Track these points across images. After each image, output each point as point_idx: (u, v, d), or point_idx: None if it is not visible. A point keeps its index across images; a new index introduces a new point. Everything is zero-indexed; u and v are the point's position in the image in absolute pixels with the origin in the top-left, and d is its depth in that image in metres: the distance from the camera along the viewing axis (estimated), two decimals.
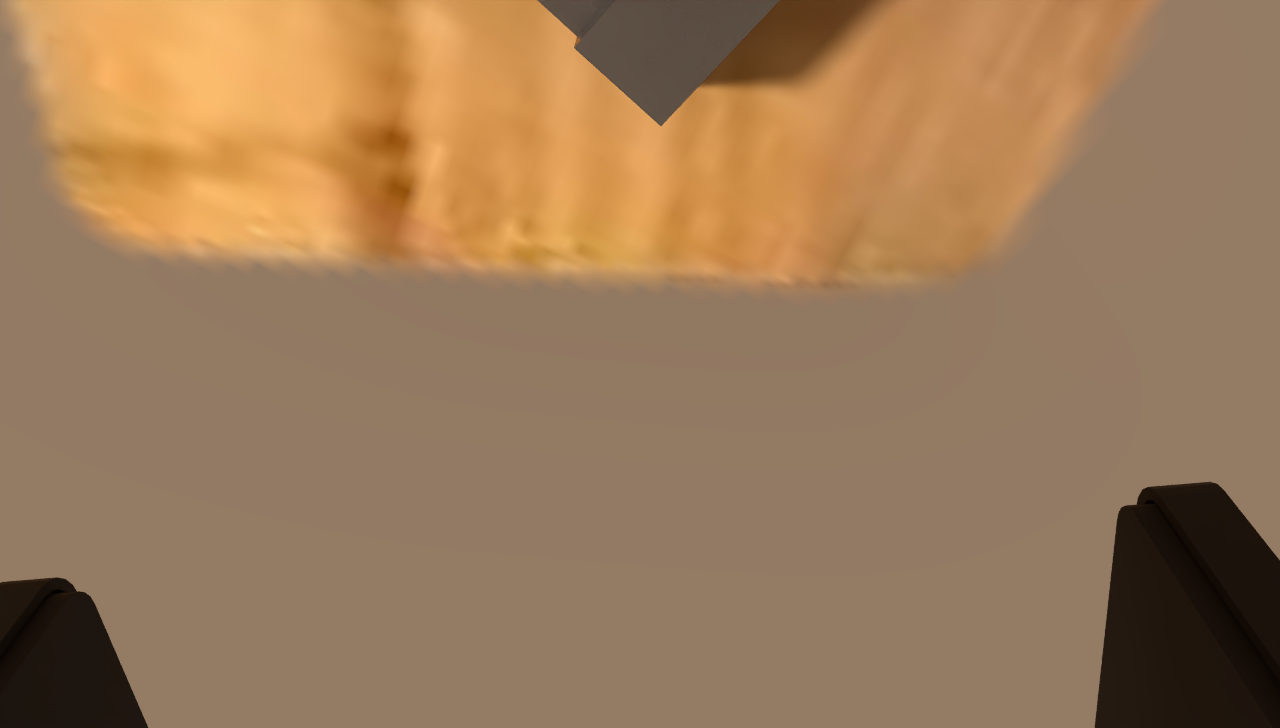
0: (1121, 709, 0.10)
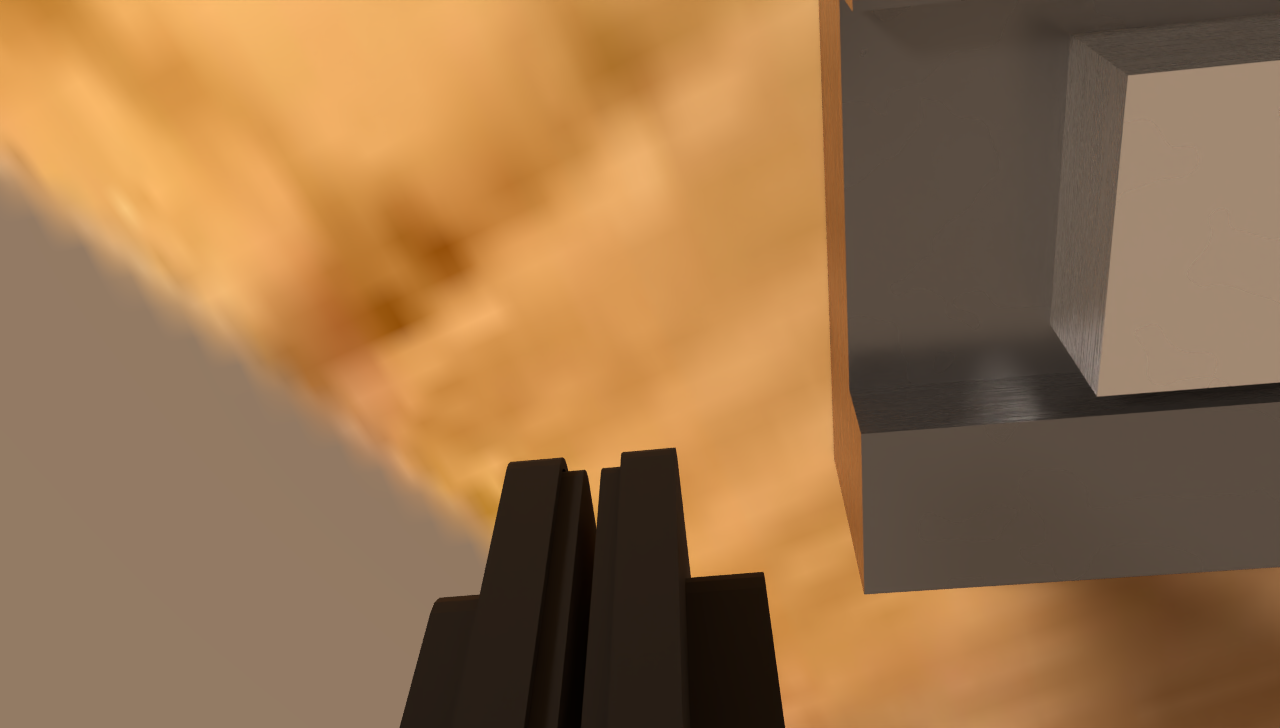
0: None
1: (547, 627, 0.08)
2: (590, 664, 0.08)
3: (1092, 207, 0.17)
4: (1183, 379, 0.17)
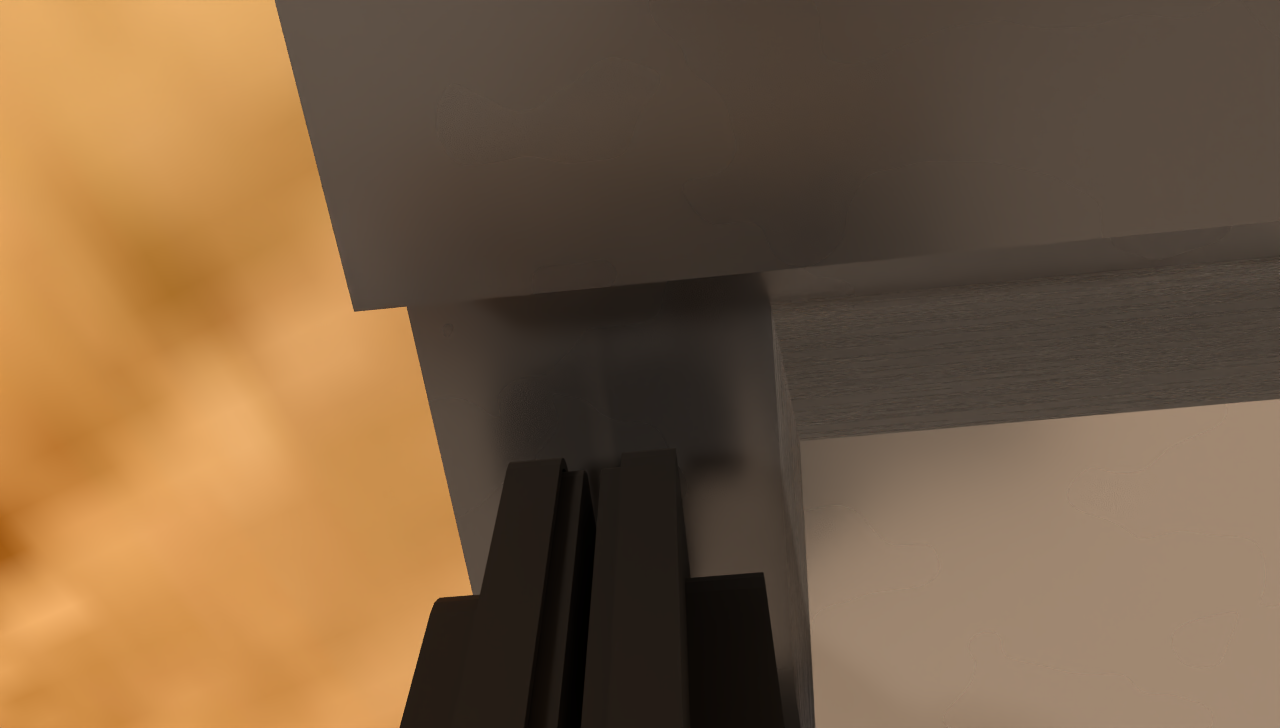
0: None
1: (547, 627, 0.08)
2: (590, 664, 0.08)
3: (799, 592, 0.10)
4: None
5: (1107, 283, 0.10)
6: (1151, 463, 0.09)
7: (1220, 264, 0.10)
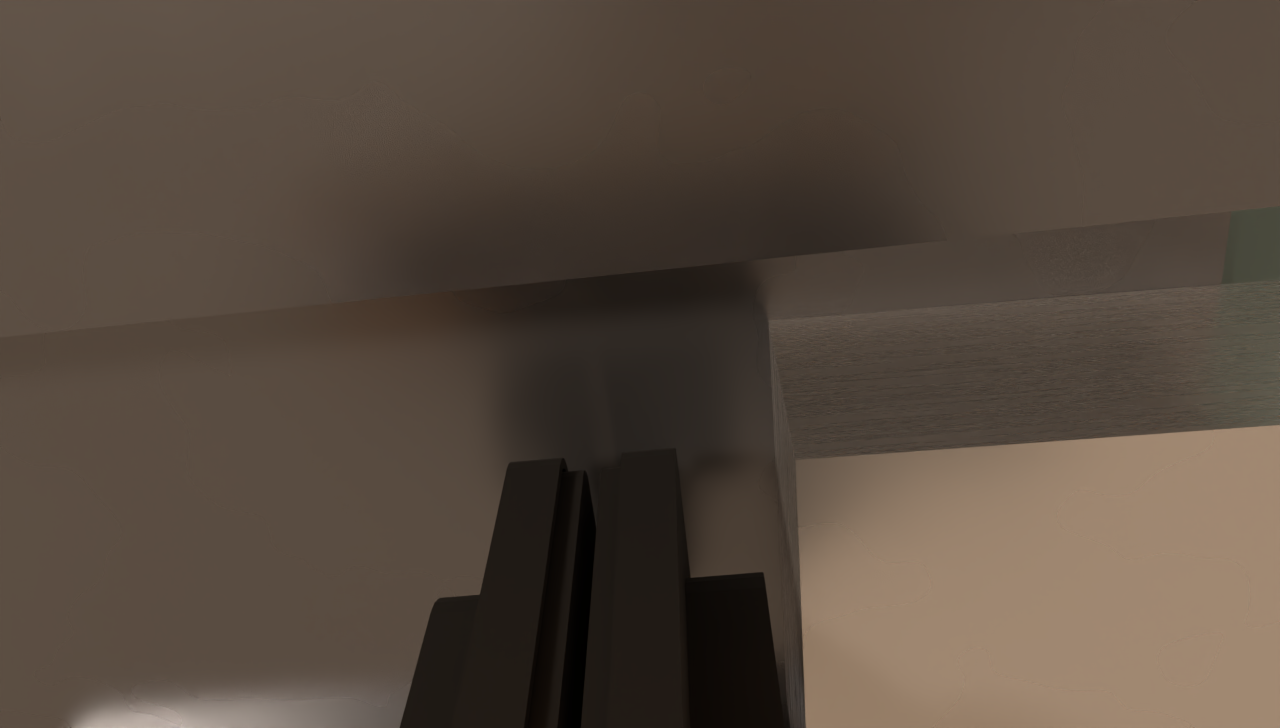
0: None
1: (547, 628, 0.08)
2: (590, 664, 0.08)
3: (792, 605, 0.11)
4: None
5: (1100, 306, 0.10)
6: (1141, 487, 0.09)
7: (1211, 288, 0.11)
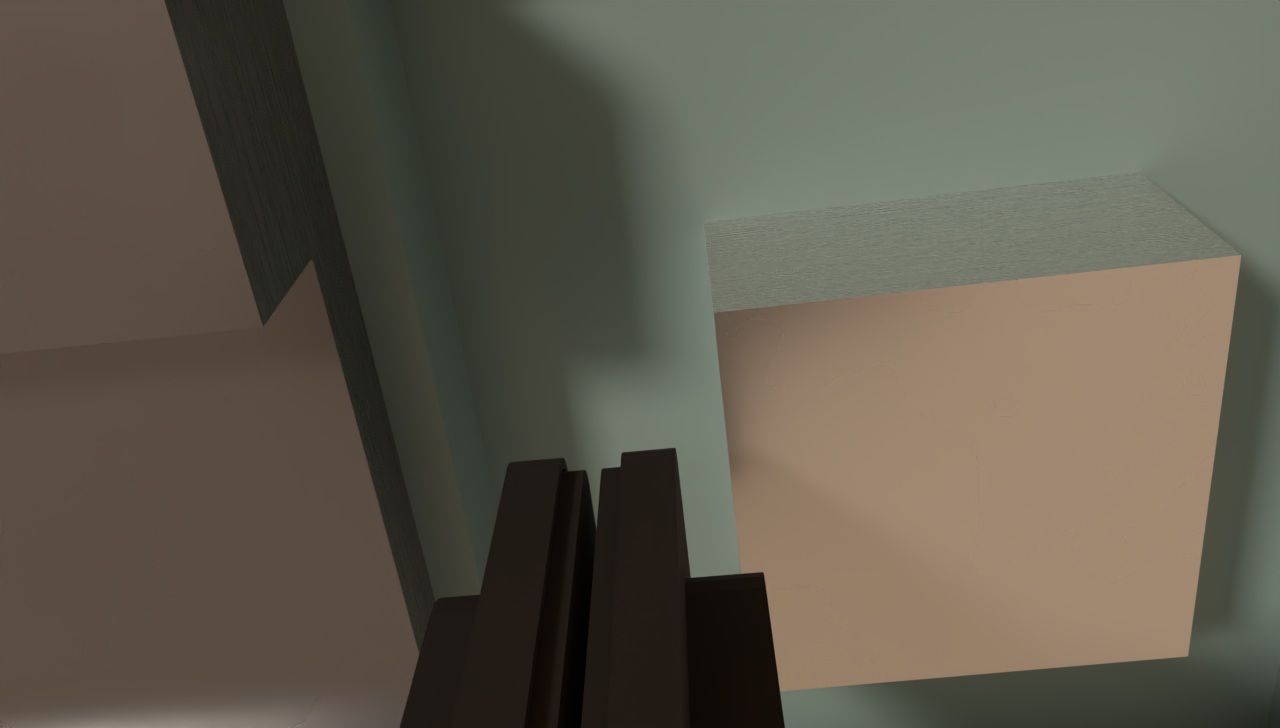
0: None
1: (547, 628, 0.08)
2: (590, 664, 0.08)
3: None
4: None
5: (906, 279, 0.11)
6: None
7: (797, 297, 0.11)
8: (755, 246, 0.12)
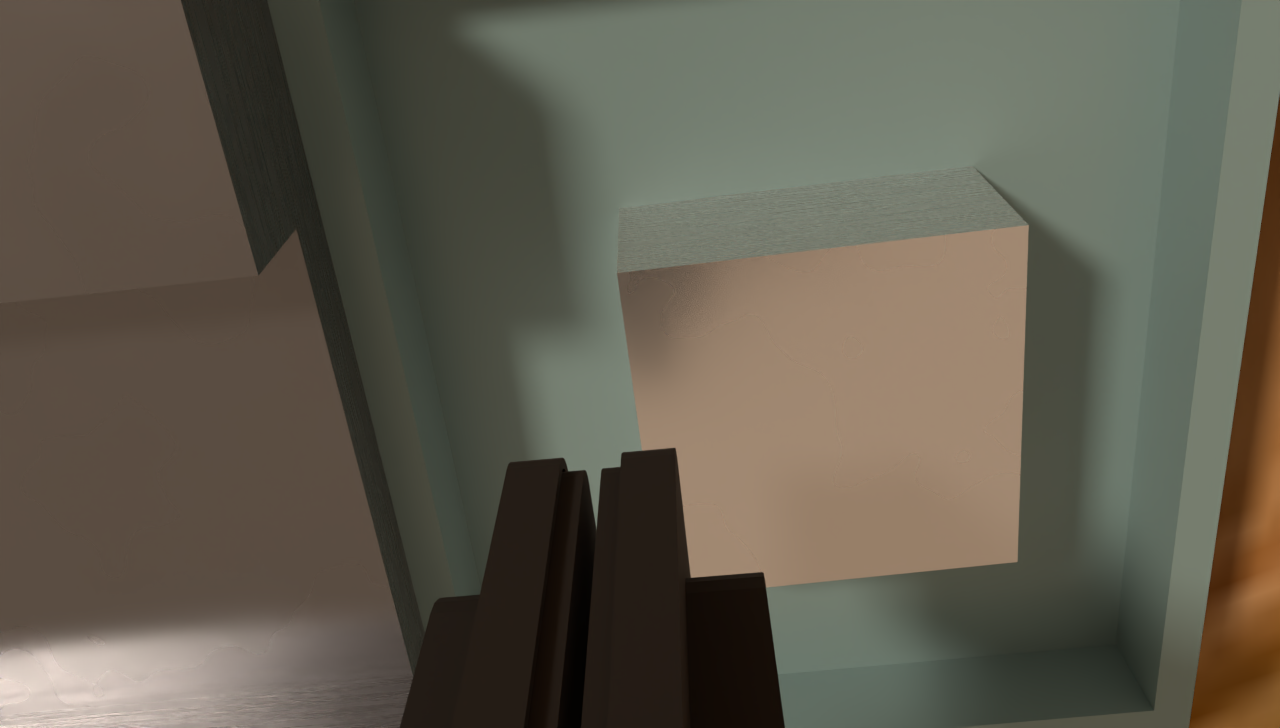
0: None
1: (547, 627, 0.08)
2: (590, 664, 0.08)
3: None
4: None
5: (769, 247, 0.14)
6: None
7: (683, 261, 0.14)
8: (657, 224, 0.15)
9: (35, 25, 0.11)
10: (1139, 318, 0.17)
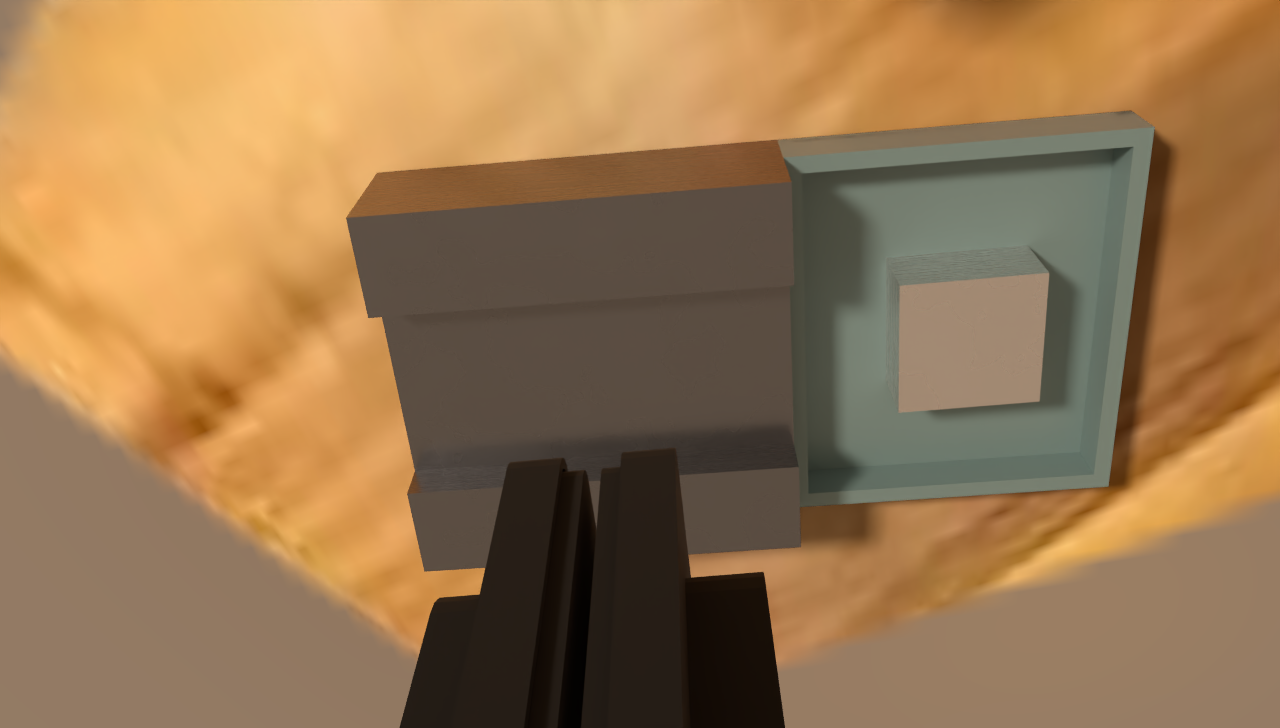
0: None
1: (547, 627, 0.08)
2: (590, 664, 0.08)
3: None
4: None
5: (954, 277, 0.38)
6: None
7: (923, 282, 0.38)
8: (906, 266, 0.39)
9: (745, 207, 0.35)
10: (1092, 307, 0.41)
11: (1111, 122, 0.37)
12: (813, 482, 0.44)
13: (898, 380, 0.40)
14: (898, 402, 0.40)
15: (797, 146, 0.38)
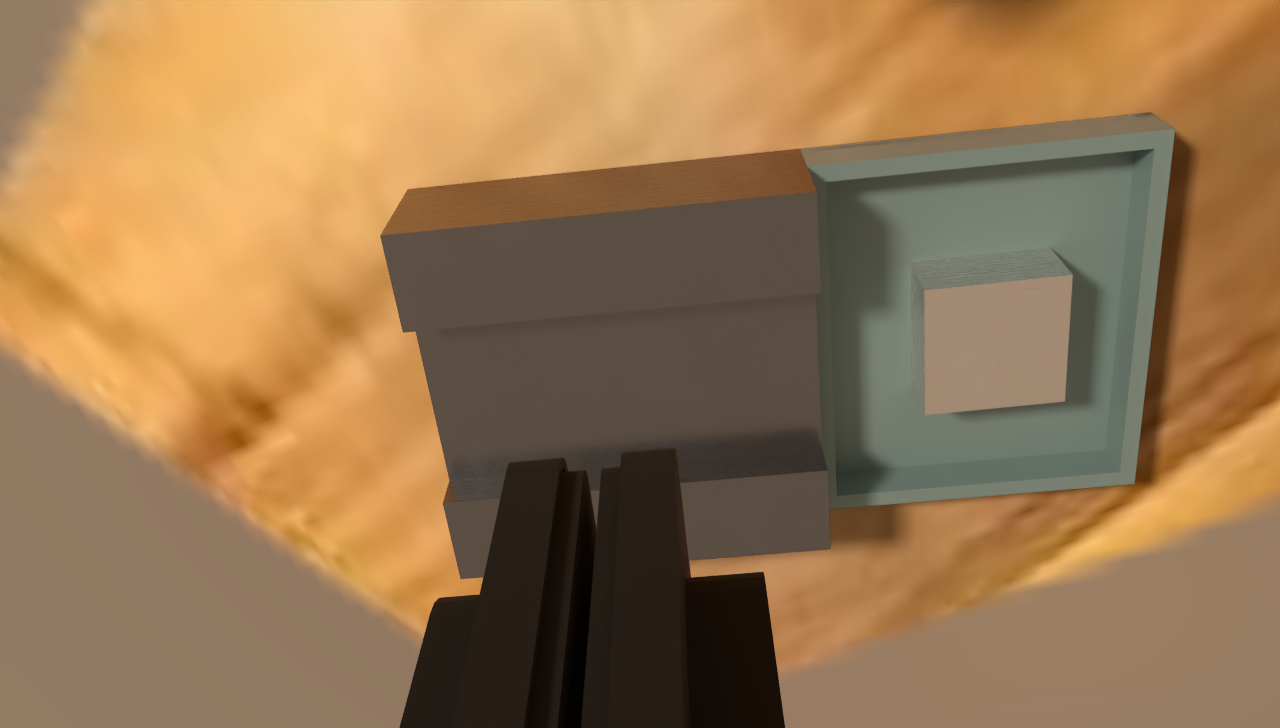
0: None
1: (547, 627, 0.08)
2: (590, 664, 0.08)
3: None
4: None
5: (978, 281, 0.38)
6: None
7: (948, 286, 0.38)
8: (930, 270, 0.40)
9: (771, 217, 0.36)
10: (1115, 306, 0.41)
11: (1131, 125, 0.37)
12: (841, 484, 0.44)
13: (924, 383, 0.40)
14: (924, 404, 0.41)
15: (820, 154, 0.38)
